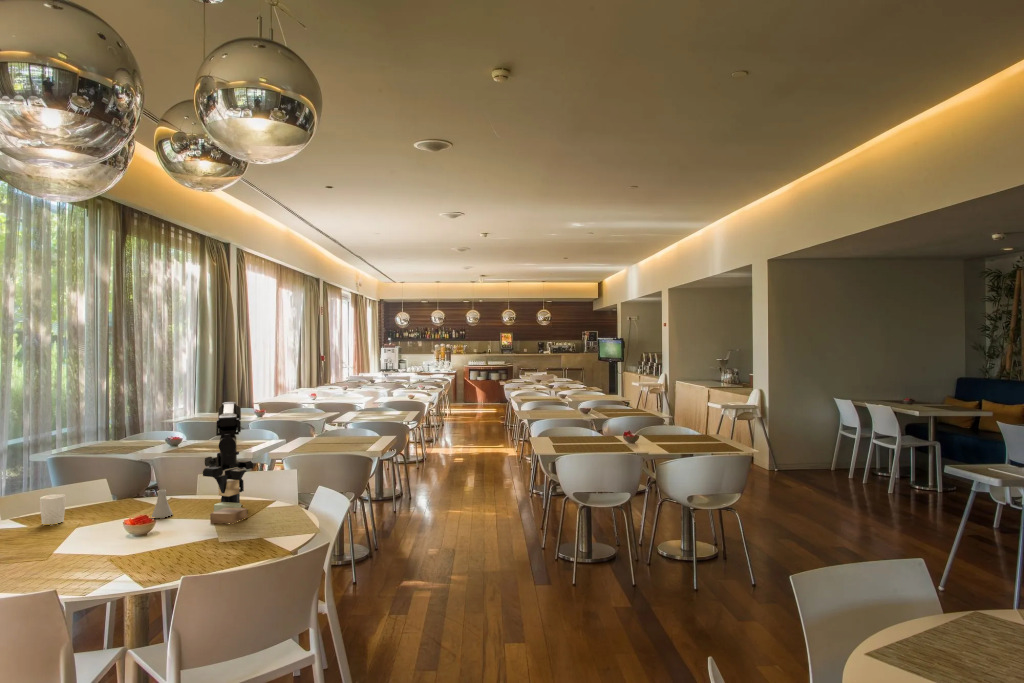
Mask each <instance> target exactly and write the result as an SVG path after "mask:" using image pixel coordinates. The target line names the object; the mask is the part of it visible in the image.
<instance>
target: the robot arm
mask: <svg viewBox="0 0 1024 683" xmlns="http://www.w3.org/2000/svg"><path fill="white" fill-rule="evenodd" d="M217 415H218V419H216V426H215V427H216V433H215V434H216V436H217V437H218V436H220V437H219V443H218V449H219V452H217V454H216V457H212V456H208V457H207V456H206V457H205V458H204V466H205V468H204V469H203V470H202V476H203V477H208V478H213V479H215V481H216V483H217V485H219V486H218V489H219V488H220V490H221V493H225V489H226V483H227V480H228V479H232V480H239V494H236V495H232V496H221V498H220V502H231V503H241V502H240V501H241V500H240V493H242V492H244V487H245V486H244V484H245V483H244V479H243V476H244V475H245V473H247V470H251V469H253V468H254V467H253V466H254V463H253V462H252V460H238V457H237V456H238V455H240V452H239V451H237V450H238V448H237V435H239V434H240V433H241V429H242V428H241V427H242V423H241V422H242V409H241V407H240V406H238V404H237V402H235V401H225V402H222V403H221V406H220V407H219V408H218V414H217ZM241 506H242V507H243V506H244V505H243V504H241Z"/></svg>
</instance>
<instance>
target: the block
mask: <svg viewBox="0 0 1024 683" xmlns="http://www.w3.org/2000/svg"><path fill="white" fill-rule="evenodd" d="M241 505H242V502H240V503H231V502H221V501H220V502H218V503H215V504H213V512H215V511H218V510H221V509H224V508H226V507H228V508H242V507H241Z"/></svg>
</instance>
